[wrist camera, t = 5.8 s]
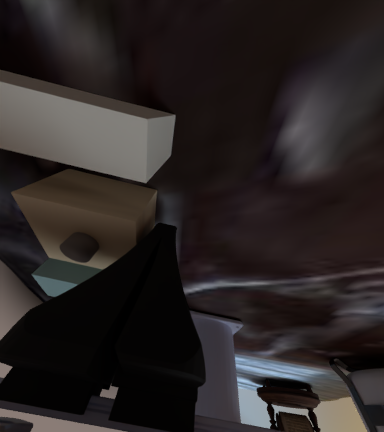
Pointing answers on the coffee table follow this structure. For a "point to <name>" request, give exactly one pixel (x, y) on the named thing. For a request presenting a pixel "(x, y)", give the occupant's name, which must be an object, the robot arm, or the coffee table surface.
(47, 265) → the block
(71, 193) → the block
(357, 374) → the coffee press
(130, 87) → the coffee table surface
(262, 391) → the dark round-based figurine
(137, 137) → the press frame
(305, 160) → the coffee table surface
